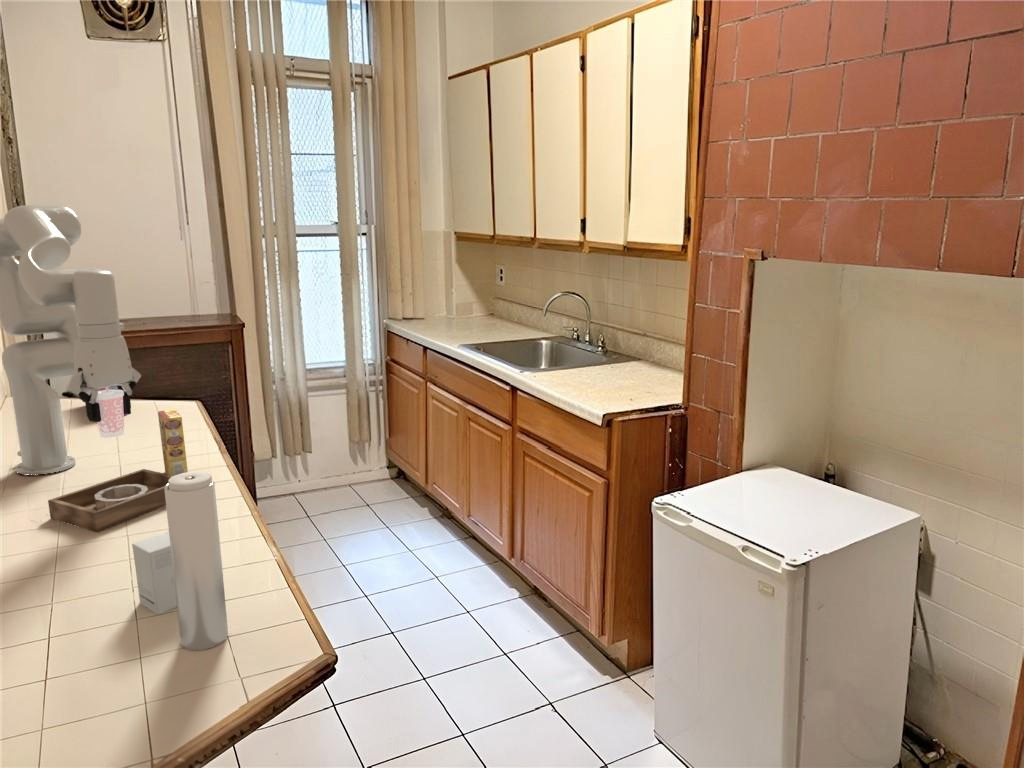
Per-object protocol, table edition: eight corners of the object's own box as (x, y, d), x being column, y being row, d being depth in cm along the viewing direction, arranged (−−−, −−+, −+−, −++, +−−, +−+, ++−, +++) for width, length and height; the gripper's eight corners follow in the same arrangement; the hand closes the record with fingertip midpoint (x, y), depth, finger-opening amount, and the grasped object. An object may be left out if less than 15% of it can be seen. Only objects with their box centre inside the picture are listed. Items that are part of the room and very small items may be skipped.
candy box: (189, 479, 177) (183, 416, 173) (169, 482, 175) (163, 419, 171) (182, 468, 184) (176, 408, 181) (163, 471, 182) (156, 410, 178)
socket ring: (85, 507, 157) (84, 496, 157) (128, 492, 166) (127, 481, 166) (116, 515, 153) (115, 504, 152) (159, 499, 162) (157, 488, 161)
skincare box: (199, 578, 128) (193, 521, 126) (219, 590, 124) (214, 531, 122) (137, 602, 120) (130, 541, 118) (156, 615, 116) (150, 553, 114)
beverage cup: (106, 440, 152) (97, 372, 149) (89, 435, 156) (81, 369, 153) (134, 433, 157) (127, 367, 154) (118, 429, 161) (110, 365, 158)
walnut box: (50, 518, 153) (48, 500, 153) (145, 485, 173) (143, 468, 172) (97, 532, 147) (95, 513, 146) (190, 496, 166) (188, 479, 165)
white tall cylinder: (189, 627, 113) (173, 470, 107) (233, 625, 113) (219, 469, 108) (174, 652, 106) (156, 486, 101) (220, 649, 107) (205, 484, 102)
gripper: (126, 325, 161) (135, 406, 165) (45, 336, 146) (58, 425, 150) (149, 327, 158) (158, 410, 161) (69, 338, 143) (81, 429, 146)
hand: (110, 416), depth 156 cm, fingers closed on beverage cup, 6 cm apart
